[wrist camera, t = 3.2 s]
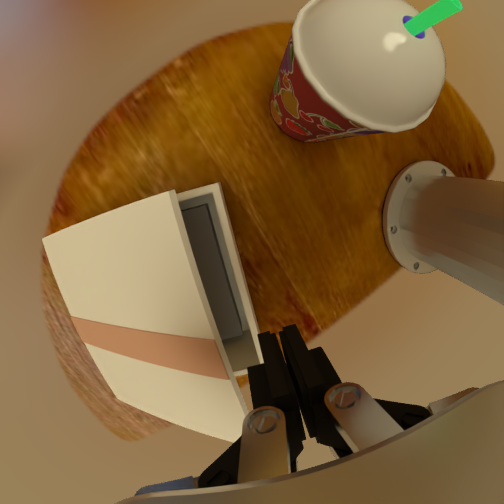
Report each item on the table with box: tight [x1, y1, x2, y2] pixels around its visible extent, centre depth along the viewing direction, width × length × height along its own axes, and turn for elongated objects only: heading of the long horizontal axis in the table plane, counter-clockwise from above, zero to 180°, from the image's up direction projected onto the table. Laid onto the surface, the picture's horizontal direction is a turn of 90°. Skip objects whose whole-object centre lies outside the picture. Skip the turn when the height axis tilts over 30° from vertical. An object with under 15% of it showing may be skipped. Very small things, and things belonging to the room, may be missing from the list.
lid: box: [42, 189, 249, 442], centre depth 16 cm, size 14×16×1 cm
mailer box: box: [176, 182, 264, 376], centre depth 23 cm, size 14×15×7 cm
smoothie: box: [270, 0, 463, 142], centre depth 14 cm, size 8×8×20 cm
